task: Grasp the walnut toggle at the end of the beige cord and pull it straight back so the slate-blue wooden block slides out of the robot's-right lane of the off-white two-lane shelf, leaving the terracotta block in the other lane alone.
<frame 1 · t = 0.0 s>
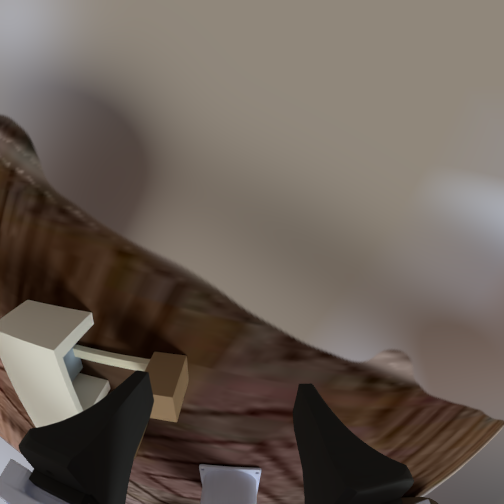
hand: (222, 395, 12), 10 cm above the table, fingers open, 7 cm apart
shelf: (76, 375, 24), on the table
blue block: (59, 343, 23), on the table
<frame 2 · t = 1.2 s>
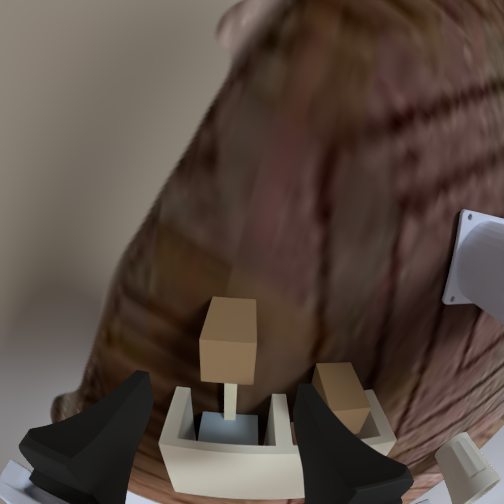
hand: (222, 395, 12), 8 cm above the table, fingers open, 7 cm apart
shelf: (273, 425, 23), on the table
cup: (450, 444, 27), on the table
terracotta block: (311, 435, 24), on the table
blue block: (229, 429, 23), on the table
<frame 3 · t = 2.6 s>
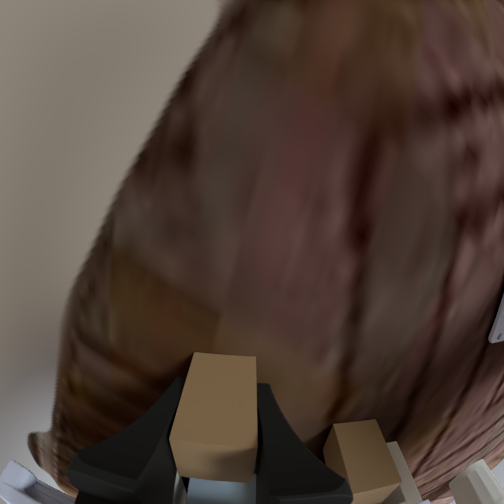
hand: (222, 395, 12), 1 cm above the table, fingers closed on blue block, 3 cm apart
shelf: (276, 481, 17), on the table
cup: (465, 472, 21), on the table
terracotta block: (320, 487, 17), on the table
blue block: (224, 484, 17), on the table, touching gripper
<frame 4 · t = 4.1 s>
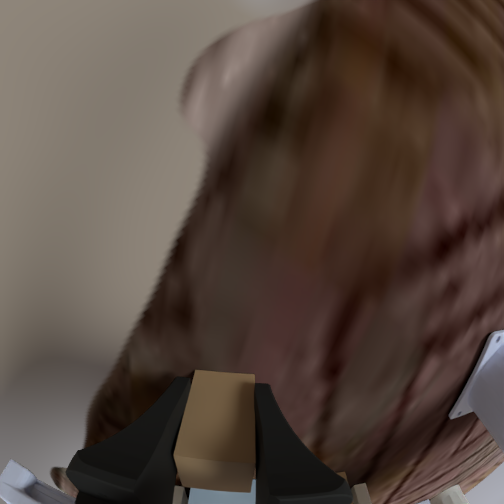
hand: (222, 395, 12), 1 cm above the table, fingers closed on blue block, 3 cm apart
cup: (441, 494, 22), on the table
blue block: (224, 489, 17), on the table, touching gripper
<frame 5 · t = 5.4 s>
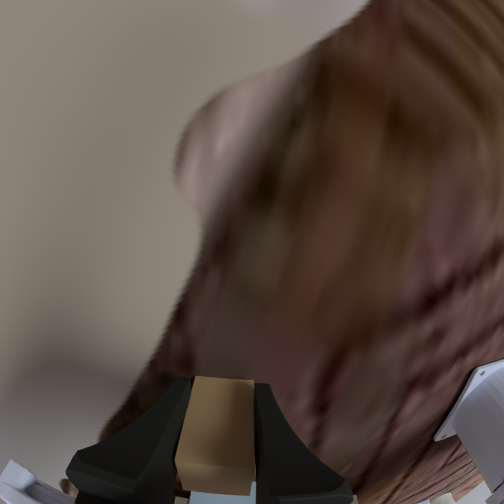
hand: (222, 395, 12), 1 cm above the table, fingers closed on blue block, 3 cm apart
cup: (434, 501, 23), on the table
blue block: (225, 491, 17), on the table, touching gripper
when the fingers open (1 cm above the table, at t = 5.8 s): blue block stays where it is, on the table.
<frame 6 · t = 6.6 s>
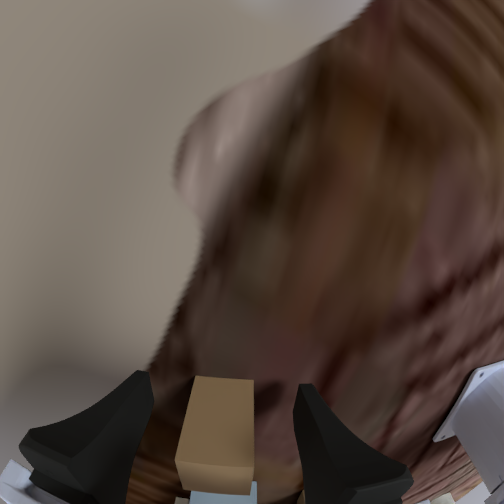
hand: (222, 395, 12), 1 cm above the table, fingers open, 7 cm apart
cup: (433, 502, 23), on the table
blue block: (225, 491, 17), on the table
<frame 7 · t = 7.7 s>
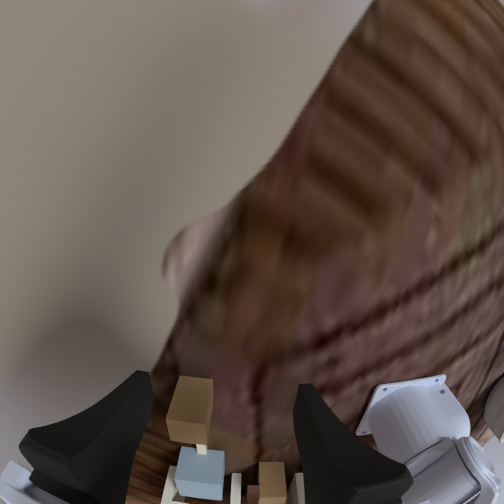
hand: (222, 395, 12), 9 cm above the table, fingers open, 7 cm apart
teacup: (500, 391, 26), on the table
shelf: (235, 486, 29), on the table
terracotta block: (263, 491, 29), on the table
blue block: (203, 459, 27), on the table
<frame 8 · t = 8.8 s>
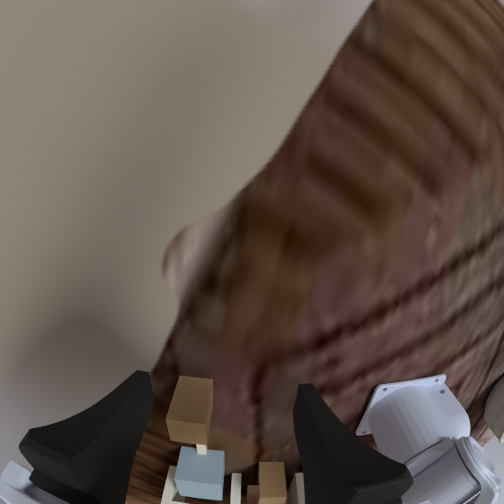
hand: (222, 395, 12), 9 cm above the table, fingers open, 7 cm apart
teacup: (500, 391, 26), on the table
shelf: (235, 486, 29), on the table
terracotta block: (263, 491, 29), on the table
blue block: (203, 459, 27), on the table
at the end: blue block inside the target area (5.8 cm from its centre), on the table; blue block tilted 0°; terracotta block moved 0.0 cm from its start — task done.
